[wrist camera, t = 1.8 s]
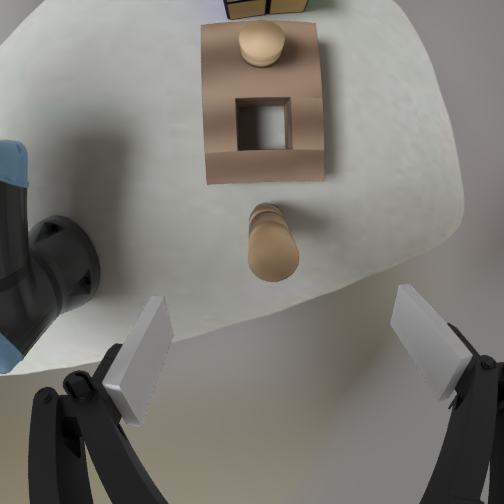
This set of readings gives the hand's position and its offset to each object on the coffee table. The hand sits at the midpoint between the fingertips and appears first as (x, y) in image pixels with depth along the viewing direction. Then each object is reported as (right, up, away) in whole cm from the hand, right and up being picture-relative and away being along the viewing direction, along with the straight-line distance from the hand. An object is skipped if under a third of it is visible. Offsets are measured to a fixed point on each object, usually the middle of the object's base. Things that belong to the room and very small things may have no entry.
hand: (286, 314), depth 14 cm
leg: (0, +8, +20) cm, 22 cm away
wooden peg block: (-1, +21, +15) cm, 26 cm away
